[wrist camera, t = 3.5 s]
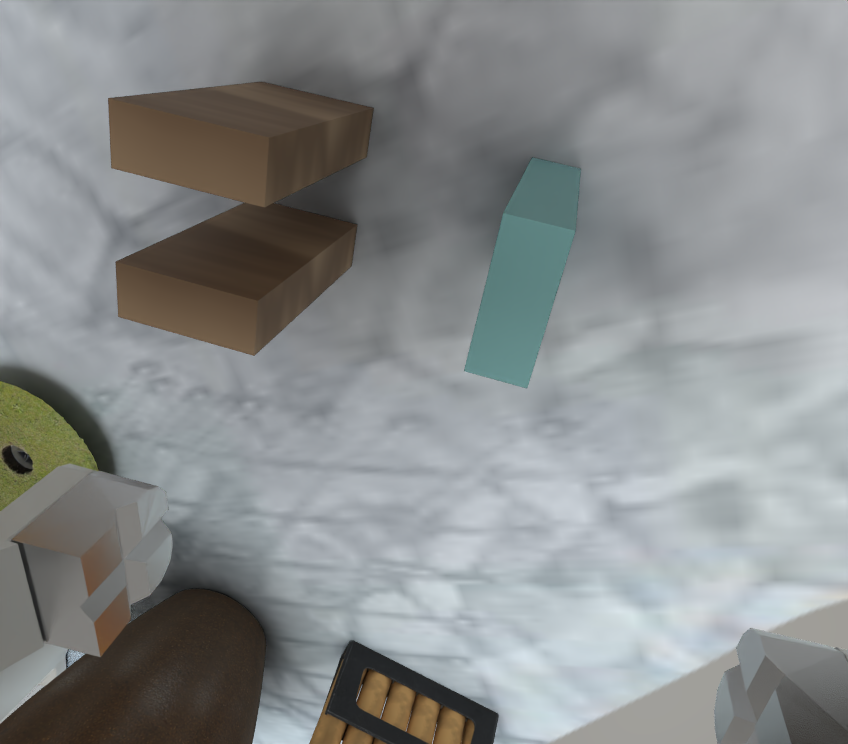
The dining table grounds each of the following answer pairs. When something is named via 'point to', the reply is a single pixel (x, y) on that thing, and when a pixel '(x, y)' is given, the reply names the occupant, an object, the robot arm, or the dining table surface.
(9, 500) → the green disc
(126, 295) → the walnut tile
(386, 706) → the ammunition clip
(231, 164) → the walnut tile
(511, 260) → the teal tile
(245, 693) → the plant pot
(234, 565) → the dining table surface
